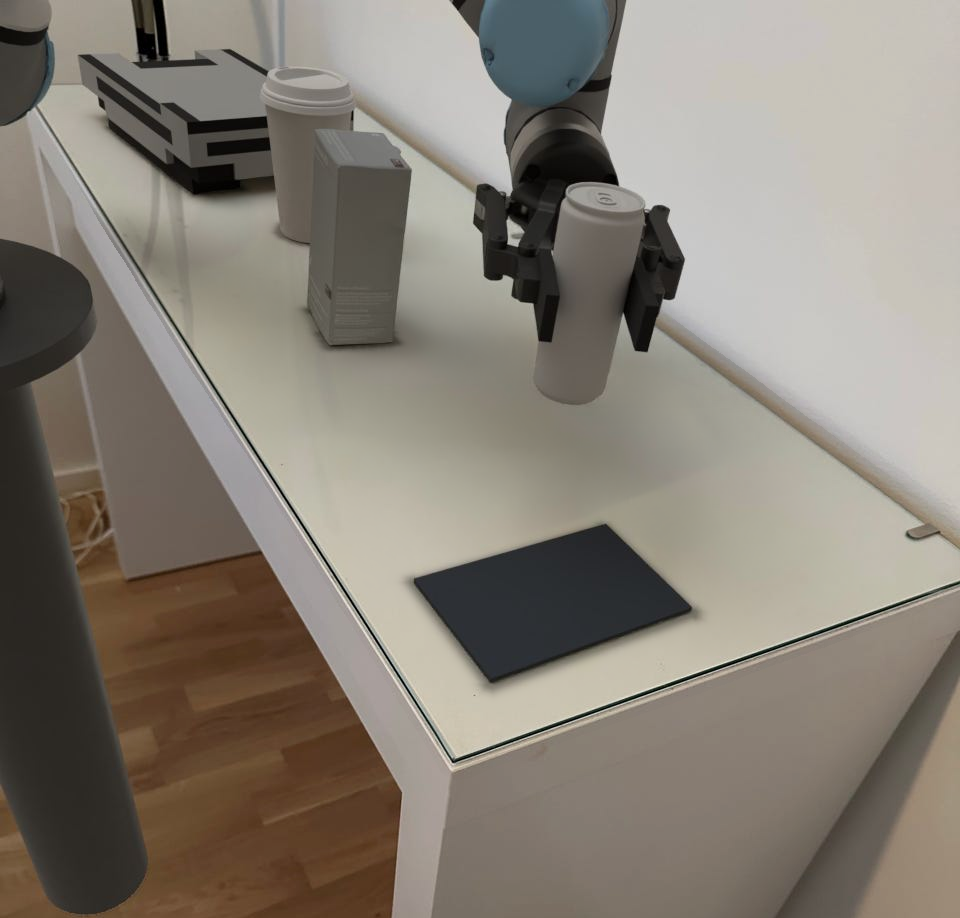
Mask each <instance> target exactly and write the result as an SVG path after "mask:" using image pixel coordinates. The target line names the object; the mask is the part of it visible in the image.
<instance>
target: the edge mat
mask: <svg viewBox="0 0 960 918" xmlns="http://www.w3.org/2000/svg"><path fill="white" fill-rule="evenodd" d="M413 584H414V586H415V587H416V588H417V589H418V591H419V593H421V595H422V596H423V597H424V598H425V600H426V601H427V603H428V604H429V605H430V606H431V607H432V609H433V610H434V611H435V613H436V614H437V615H438V617H439V618H440V619H441V620H442V622H443V624H444V625H445V626H446V627H447V628H448V630H449V631H450V632H451V634H452V635H453V637H454V638H455V639H456V640H457V642H458V643H459V644H460V646H461V647H462V648H463V649H464V651H465V652H466V653H467V654H468V656H469V657H470V658H471V660H472V661H473V662H474V663H475V665H476V666H477V667H478V668H479V670H480V671H481V673H482V674H483V675H484V676H485V678H486V680H487V681H488V682H489V683H490V684H491V683H494V682H496V681H500V680H502V679H505V678H508V677H511V676H514V675H516V674H520V673H522V672H526V671H528V670H530V669H534V668H536V667H539V666H542V665H544V664H547V663H550V662H553V661H556V660H558V659H561V658H565V657H567V656H570V655H573V654H576V653H578V652H580V651H584V650H587V649H590V648H593V647H595V646H598V645H601V644H603V643H606V642H609V641H612V640H614V639H615V640H616V639H617V638H621V637H623V636H626V635H628V634H632V633H635V632H636V631H637V632H638V631H639V630H642V629H645V628H648V627H651V626H654V625H657V624H659V623H662V622H665V621H668V620H670V619H674V618H676V617H678V616H681V615H685V614H688V613H690V612H692V609H693V606H692V605H691V604H690V603H689V602H687V600H686V599H685V598H684V597H682V596H681V594H680V593H678V592H677V591H676V590H675V588H673V587H672V585H670V583H668V582H667V581H666V580H665V579H664V578H663V577H662V576H661V575H660V574H659V573H658V572H656V570H654V568H652V566H651V565H650V564H648V562H646V561H645V560H644V558H642V557H641V556H640V554H638V553H637V552H636V551H635V550H634V549H633V548H632V547H631V546H630V545H629V544H628V543H627V542H626V541H625V540H624V539H623V538H622V537H621V536H619V534H617V533H616V532H615V531H614V530H613V529H612V528H611V527H610V526H609V525H608V524H607V523H603V524H598V525H596V526H592V527H588V528H585V529H582V530H578V531H575V532H571V533H567V534H565V535H559V536H558V537H554V538H551V539H547V540H543V541H540V542H537V543H533V544H529V545H525V546H522V547H520V548H516V549H512V550H508V551H505V552H502V553H498V554H494V555H490V556H487V557H483V558H480V559H477V560H474V561H471V562H466V563H462V564H460V565H456V566H452V567H450V568H446V569H442V570H439V571H435V572H432V573H429V574H425V575H420V576H418V577H414V578H413Z"/></svg>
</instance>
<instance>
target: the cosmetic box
mask: <svg viewBox="0 0 960 918" xmlns="http://www.w3.org/2000/svg"><path fill="white" fill-rule="evenodd" d="M401 154H402V150H401V149H400V148H399V147H397V146H395V145H393V144H392V142H391V141H390V139H389V138H388V136H387V135H386V134H385V133H384V132H374V131H373V132H372V131H360V130H359V131H358V130H353V131H348V130H337V129H316V130H315V145H314V168H313V190H312V212H311V232H310V243H309V254H308V255H309V256H308V273H307V274H308V279H307V295H306V297H307V298H306V304H307V308H308V309H309V311H310V314H311V316H312V318H313V321H314V322H315V324H316V326H317V327H318V329H319V332H320V333H321V335H322V337H323V338H324V340H325V341H326V343H327V344H328V345H329V346H339V345H340V346H341V345H358V344H359V345H362V344H367V345H368V344H385V343H393V342H394V333H395V325H396V315H397V305H398V298H399V288H400V279H401V270H402V260H403V253H404V242H405V234H406V226H407V218H408V207H409V201H410V200H409V199H410V192H411V182H412V174H413V169H412V167H411V166H410V165H409V164H408V163H407V161H406V160H405V159H404V158H403V157H402V155H401Z"/></svg>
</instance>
